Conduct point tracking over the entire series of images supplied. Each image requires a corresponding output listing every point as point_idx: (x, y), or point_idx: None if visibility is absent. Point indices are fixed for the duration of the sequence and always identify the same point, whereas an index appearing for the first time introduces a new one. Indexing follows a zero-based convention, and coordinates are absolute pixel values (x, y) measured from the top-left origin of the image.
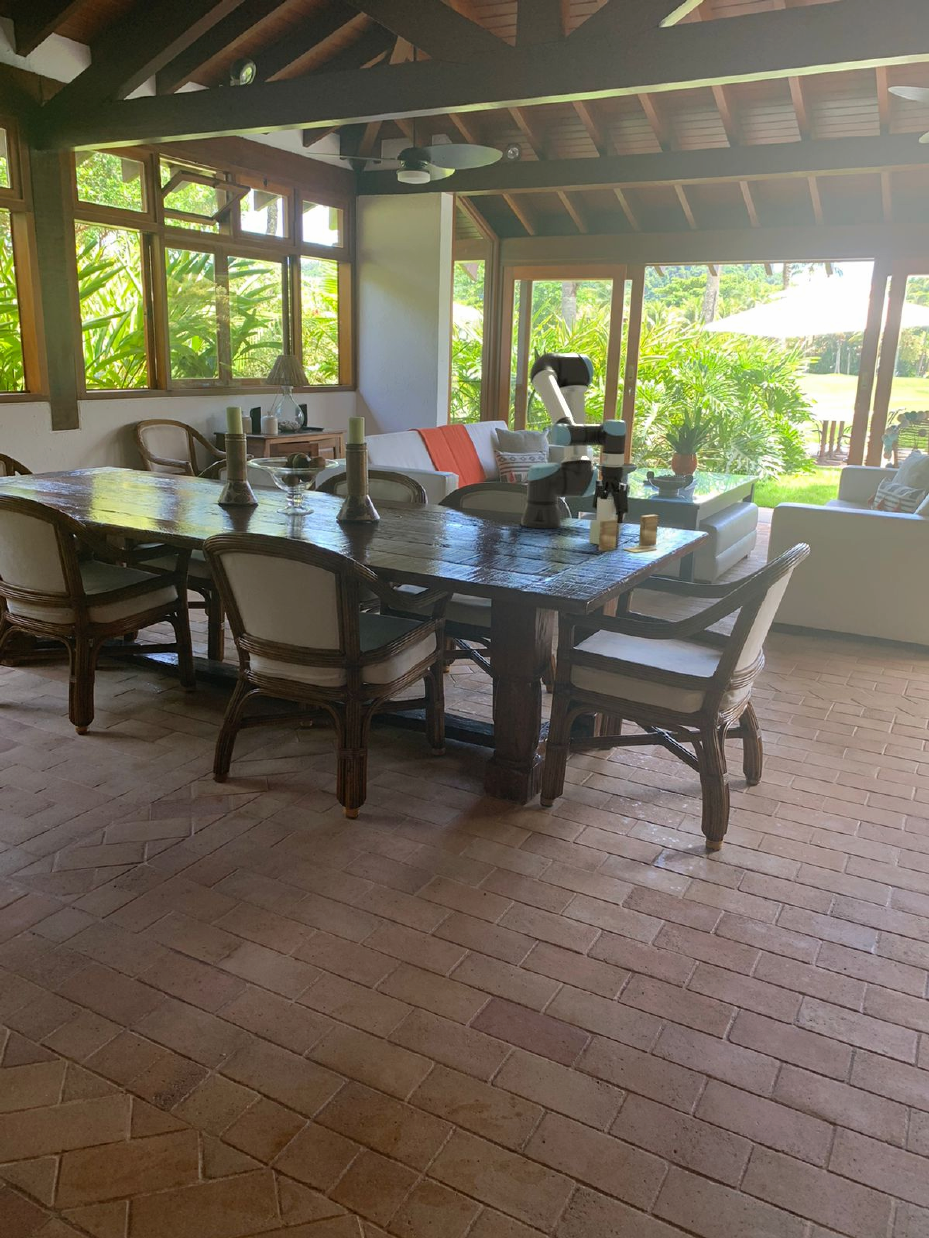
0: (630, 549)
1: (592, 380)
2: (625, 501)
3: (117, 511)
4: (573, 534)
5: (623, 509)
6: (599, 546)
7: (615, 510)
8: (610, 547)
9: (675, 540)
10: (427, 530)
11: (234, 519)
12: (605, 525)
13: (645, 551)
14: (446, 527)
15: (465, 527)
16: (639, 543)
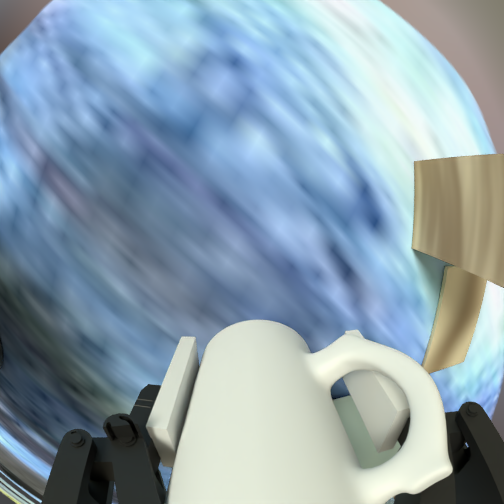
0: (444, 358)
1: None
2: (501, 478)
3: (7, 495)
4: (79, 350)
5: (466, 452)
6: None
7: (353, 452)
8: None
9: (406, 34)
10: (43, 483)
11: (17, 495)
12: None
13: (475, 316)
14: (16, 456)
15: (11, 443)
16: (417, 249)
